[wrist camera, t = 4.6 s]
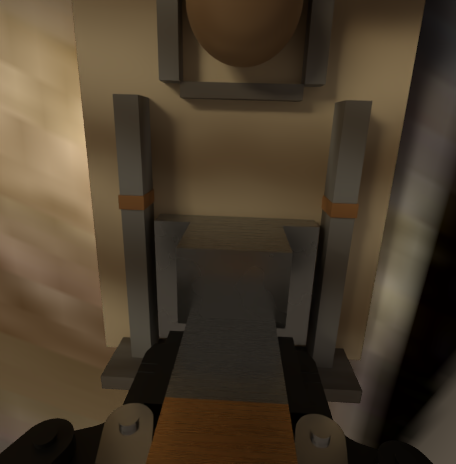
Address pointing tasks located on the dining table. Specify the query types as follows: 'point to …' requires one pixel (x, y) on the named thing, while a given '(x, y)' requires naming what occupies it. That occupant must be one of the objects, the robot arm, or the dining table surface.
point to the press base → (244, 154)
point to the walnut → (243, 28)
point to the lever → (230, 334)
